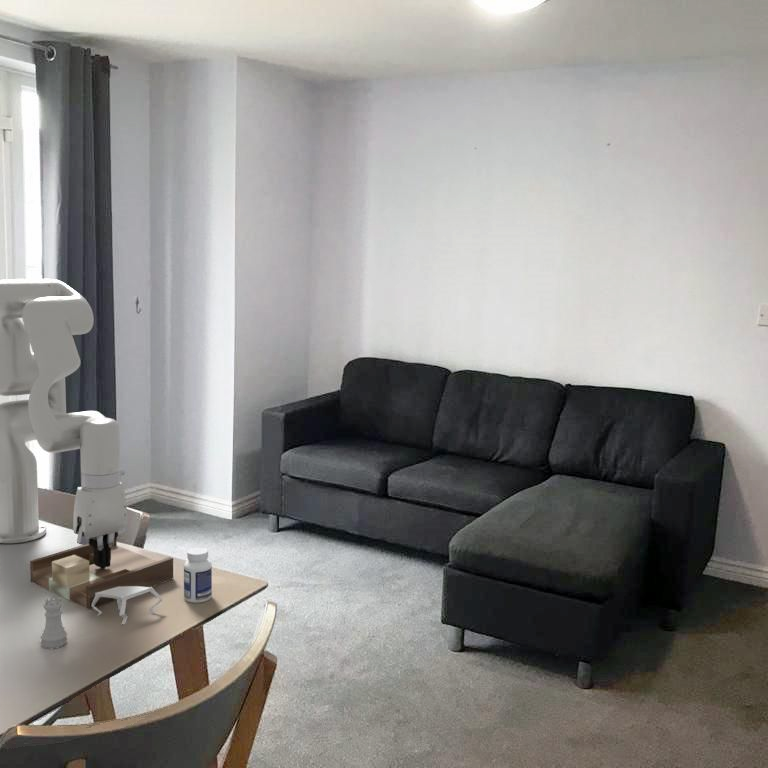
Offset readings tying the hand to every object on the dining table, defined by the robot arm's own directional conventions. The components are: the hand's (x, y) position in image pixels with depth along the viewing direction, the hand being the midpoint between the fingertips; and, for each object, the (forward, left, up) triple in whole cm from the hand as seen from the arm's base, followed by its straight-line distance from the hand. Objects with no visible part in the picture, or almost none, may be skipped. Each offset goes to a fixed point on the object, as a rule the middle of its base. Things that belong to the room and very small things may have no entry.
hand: (102, 565), depth 176 cm
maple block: (+1, -8, -1) cm, 8 cm away
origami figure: (+17, -7, -4) cm, 19 cm away
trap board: (0, 0, -3) cm, 3 cm away
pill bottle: (+21, +7, -3) cm, 22 cm away
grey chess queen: (+17, -22, -3) cm, 28 cm away
